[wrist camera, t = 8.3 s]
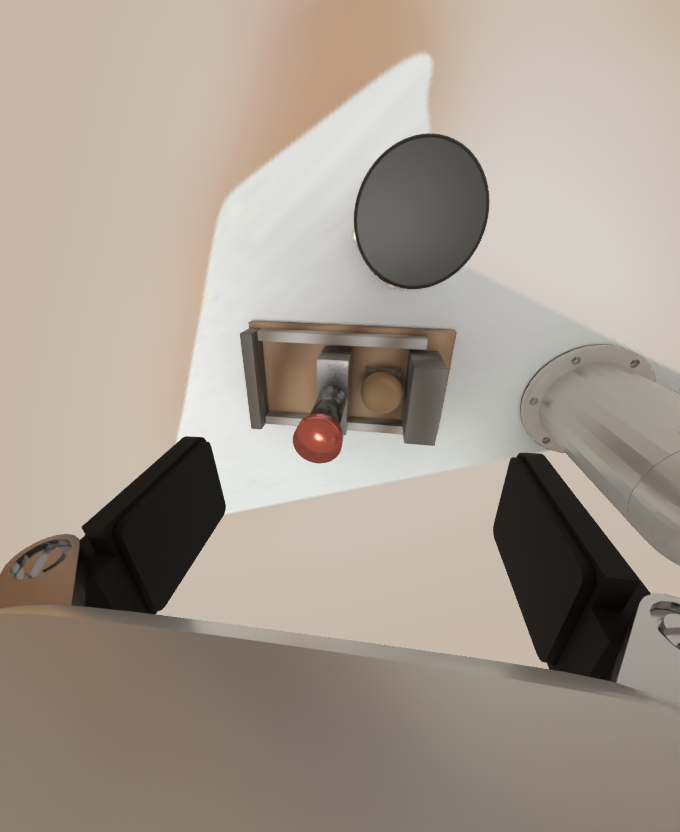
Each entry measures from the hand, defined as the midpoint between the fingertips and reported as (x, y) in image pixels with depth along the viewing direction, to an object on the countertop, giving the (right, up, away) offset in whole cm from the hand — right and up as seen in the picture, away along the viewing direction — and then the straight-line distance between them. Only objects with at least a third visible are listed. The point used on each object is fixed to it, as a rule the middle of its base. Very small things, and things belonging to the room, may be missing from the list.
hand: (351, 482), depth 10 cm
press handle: (-1, +6, +26) cm, 27 cm away
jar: (+6, +20, +20) cm, 29 cm away
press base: (+1, +7, +27) cm, 28 cm away
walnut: (+4, +5, +23) cm, 24 cm away
